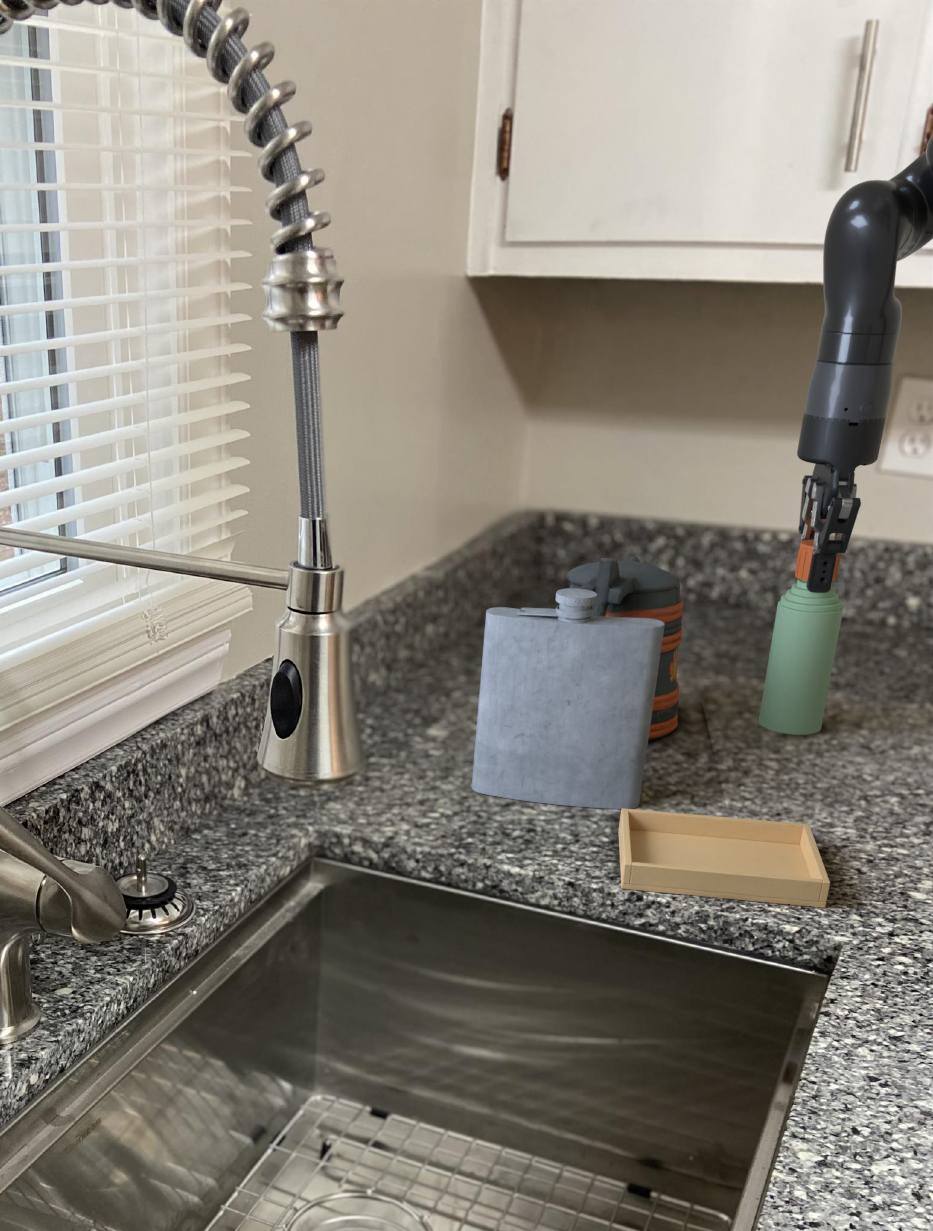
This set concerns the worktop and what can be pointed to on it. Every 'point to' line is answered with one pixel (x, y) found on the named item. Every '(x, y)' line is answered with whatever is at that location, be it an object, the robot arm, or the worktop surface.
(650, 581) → the beer stein
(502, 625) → the hip flask
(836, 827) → the worktop surface
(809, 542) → the cap
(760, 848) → the tray
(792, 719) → the bottle
